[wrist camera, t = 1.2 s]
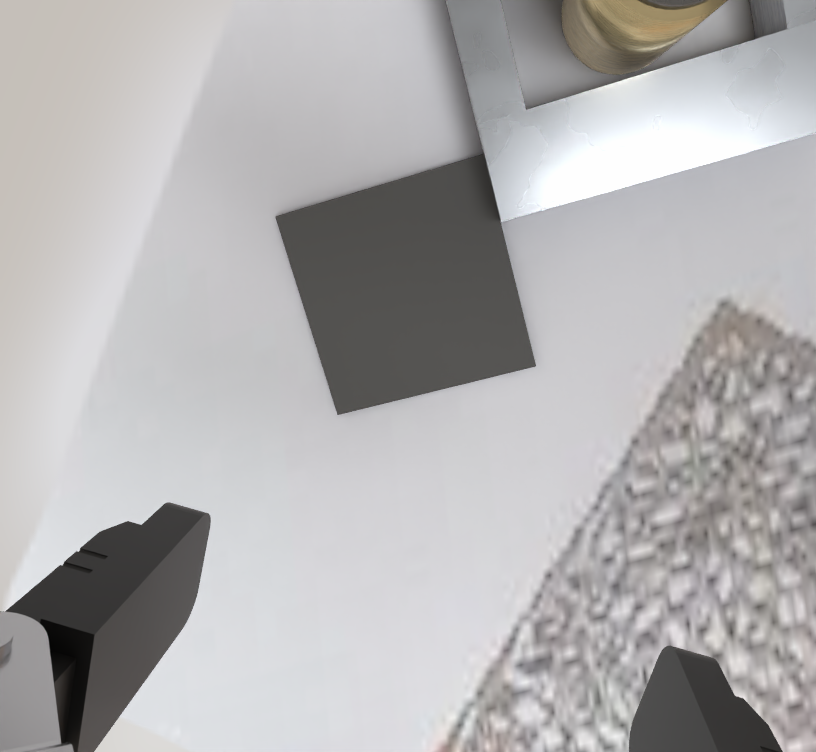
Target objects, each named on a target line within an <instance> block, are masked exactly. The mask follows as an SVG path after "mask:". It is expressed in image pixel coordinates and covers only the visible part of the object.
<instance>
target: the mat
mask: <svg viewBox="0 0 816 752" xmlns="http://www.w3.org/2000/svg"><path fill="white" fill-rule="evenodd" d="M276 220H277V223H278V226H279V229H280V233H281V236H282V239H283V242H284V245H285V249H286V252H287V255H288V258H289V261H290V264H291V268H292V271H293V274H294V277H295V280H296V284H297V287H298V290H299V293H300V296H301V299H302V303H303V306H304V309H305V312H306V315H307V319H308V322H309V325H310V328H311V331H312V334H313V338H314V341H315V344H316V347H317V350H318V354H319V357H320V360H321V363H322V366H323V369H324V373H325V376H326V379H327V382H328V385H329V389H330V392H331V395H332V398H333V401H334V404H335V408H336V411H337V414H338V415H339V414H343V413H348V412H352V411H356V410H360V409H364V408H368V407H372V406H376V405H380V404H384V403H388V402H392V401H396V400H400V399H405V398H409V397H413V396H417V395H421V394H425V393H429V392H433V391H437V390H441V389H445V388H449V387H453V386H457V385H462V384H466V383H470V382H474V381H478V380H482V379H486V378H490V377H494V376H498V375H502V374H506V373H510V372H514V371H519V370H523V369H527V368H531V367H535V366H536V364H535V360H534V356H533V352H532V348H531V344H530V340H529V336H528V332H527V328H526V324H525V320H524V316H523V312H522V308H521V304H520V300H519V296H518V292H517V287H516V283H515V279H514V275H513V271H512V267H511V263H510V259H509V255H508V251H507V247H506V243H505V239H504V235H503V231H502V227H501V223H500V219H499V215H498V211H497V206H496V202H495V198H494V194H493V190H492V186H491V182H490V178H489V174H488V170H487V166H486V162H485V158H484V154H482V155H479V156H476V157H472V158H469V159H466V160H462V161H459V162H456V163H452V164H449V165H446V166H442V167H439V168H436V169H432V170H429V171H426V172H422V173H419V174H416V175H412V176H409V177H406V178H402V179H399V180H396V181H392V182H389V183H386V184H382V185H379V186H376V187H372V188H369V189H366V190H362V191H359V192H356V193H352V194H349V195H346V196H342V197H339V198H336V199H332V200H329V201H326V202H322V203H319V204H316V205H312V206H309V207H306V208H302V209H299V210H296V211H292V212H289V213H286V214H282V215H279V216H276Z"/></svg>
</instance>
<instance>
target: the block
mask: <svg viewBox="0 0 816 752" xmlns="http://www.w3.org/2000/svg"><path fill="white" fill-rule="evenodd" d="M445 1H446V5H447V9H448V13H449V17H450V21H451V25H452V29H453V33H454V37H455V41H456V45H457V49H458V53H459V57H460V61H461V65H462V70H463V74H464V78H465V82H466V86H467V90H468V94H469V98H470V102H471V106H472V110H473V114H474V118H475V122H476V126H477V130H478V134H479V138H480V142H481V146H482V150H483V154H484V158H485V162H486V166H487V170H488V174H489V178H490V182H491V186H492V190H493V194H494V198H495V202H496V206H497V211H498V215H499V219H500V221H501V222H504V221H507V220H511V219H514V218H518V217H521V216H525V215H528V214H532V213H535V212H539V211H542V210H546V209H550V208H553V207H557V206H560V205H564V204H567V203H571V202H574V201H578V200H581V199H585V198H588V197H592V196H596V195H599V194H603V193H606V192H610V191H613V190H617V189H620V188H624V187H627V186H631V185H634V184H638V183H642V182H645V181H649V180H652V179H656V178H659V177H663V176H666V175H670V174H673V173H677V172H680V171H684V170H688V169H691V168H695V167H698V166H702V165H705V164H709V163H712V162H716V161H719V160H723V159H726V158H730V157H733V156H737V155H741V154H744V153H748V152H751V151H755V150H758V149H762V148H765V147H769V146H772V145H776V144H779V143H783V142H787V141H790V140H794V139H797V138H801V137H804V136H808V135H811V134H815V133H816V0H749V1H750V7H751V13H752V19H753V26H754V32H755V38H756V39H754V40H751V41H748V42H744V43H741V44H738V45H735V46H731V47H728V48H725V49H722V50H718V51H715V52H712V53H709V54H705V55H702V56H699V57H696V58H692V59H689V60H686V61H683V62H679V63H676V64H673V65H670V66H666V67H663V68H660V69H657V70H654V71H650V72H647V73H644V74H641V75H637V76H634V77H631V78H628V79H624V80H621V81H618V82H615V83H611V84H608V85H605V86H602V87H598V88H595V89H592V90H589V91H585V92H582V93H579V94H576V95H572V96H569V97H566V98H563V99H559V100H556V101H553V102H550V103H546V104H543V105H540V106H537V107H533V108H530V109H527V110H526V107H525V103H524V98H523V94H522V90H521V85H520V81H519V77H518V73H517V68H516V64H515V60H514V55H513V51H512V47H511V42H510V38H509V34H508V29H507V25H506V21H505V16H504V12H503V8H502V3H501V0H445Z"/></svg>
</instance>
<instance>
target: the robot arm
mask: <svg viewBox="0 0 816 752" xmlns="http://www.w3.org/2000/svg"><path fill="white" fill-rule="evenodd" d="M209 530H210V515H209V514H208V513H205V512H201V511H198V510H194V509H190V508H187V507H183V506H180V505H176V504H173V503H165V504H164V505H163V506H162V507H161V508H160V509H159V510H157V511H156V512H155V513H154V514H153V515H152V516H151V517H150V518H149V519H148V520H147V521H146V522H144V523H143V524H142V525H139V524H136V523H132V522H129V521H127V522H124V523H122V524H119V525H117V526H114V527H111V528H109V529H106V530H103V531H101V532H99V533H98V534H97V535H95V536H94V537H93V538H92V539H91V540H90V541H88V542H87V543H86V544H85V545H84V546H82V547H81V548H80V551H79V552H77V551H76V552H75V553H74V554H73V555H72V556H71V557H69V558H68V559H67V560H66V561H65V562H64V564H63V566H61V565H60V566H59V567H57V568H56V569H55V570H54V571H53V572H52V573H50V574H49V575H48V576H47V577H46V578H44V579H43V580H42V581H41V582H40V583H39V584H37V585H36V586H35V587H34V588H33V589H31V590H30V591H29V592H28V593H27V594H25V595H24V596H23V597H22V598H21V599H20V600H18V601H17V602H16V603H15V604H14V605H12V606H11V607H10V608H9V609H8V610H6V611H5V612H1V611H0V752H94V751H95V750H96V748H97V747H98V745H99V744H100V743H101V741H102V740H103V738H104V737H105V736H106V734H107V733H108V731H109V730H110V729H111V727H112V726H113V725H114V723H115V722H116V720H117V719H118V718H119V716H120V715H121V714H122V712H123V711H124V709H125V708H126V707H127V705H128V704H129V702H130V701H131V700H132V698H133V697H134V695H135V694H136V693H137V691H138V690H139V688H140V687H141V686H142V684H143V683H144V682H145V680H146V679H147V677H148V676H149V675H150V673H151V672H152V670H153V669H154V668H155V666H156V665H157V663H158V662H159V661H160V659H161V658H162V657H163V655H164V654H165V652H166V651H167V650H168V648H169V647H170V645H171V644H172V643H173V641H174V640H175V638H176V637H177V636H178V634H179V633H180V632H181V630H182V629H183V627H184V625H185V624H186V622H187V620H188V618H189V616H190V614H191V611H192V609H193V606H194V603H195V600H196V597H197V593H198V588H199V583H200V577H201V572H202V567H203V561H204V556H205V551H206V545H207V540H208V535H209ZM629 752H783V751H782V750H781V748H780V746H779V744H778V742H777V740H776V739H775V737H774V735H773V733H772V731H771V729H770V727H769V726H768V724H767V723H766V722H765V721H764V720H763V719H762V718H761V717H760V716H759V715H758V714H757V713H756V712H755V711H754V710H753V708H752V707H751V706H750V705H749V704H748V703H747V702H746V701H745V700H744V699H743V698H740V697H736V696H735V695H734V694H733V692H732V690H731V688H730V686H729V684H728V682H727V680H726V678H725V676H724V674H723V672H722V670H721V668H720V666H719V664H718V662H717V661H716V660H715V659H714V658H711V657H708V656H704V655H701V654H697V653H694V652H690V651H687V650H683V649H680V648H676V647H672V646H667V647H665V648H664V649H663V650H662V652H661V653H660V655H659V657H658V659H657V662H656V664H655V667H654V669H653V672H652V674H651V677H650V679H649V682H648V684H647V687H646V689H645V692H644V694H643V697H642V699H641V702H640V704H639V707H638V709H637V712H636V714H635V716H634V719H633V722H632V726H631V731H630V739H629Z"/></svg>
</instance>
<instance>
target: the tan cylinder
mask: <svg viewBox="0 0 816 752" xmlns="http://www.w3.org/2000/svg"><path fill="white" fill-rule="evenodd" d="M726 1H727V0H563V4H562V12H561V19H562V28H563V32H564V36H565V39H566V41H567V44H568V46H569V47H570V49H571V51H572V52H573V53H574V55H575V56H576V57H577V58H578V59H579V60H580V61H581V62H582V63H583V64H585V65H586V66H588V67H589V68H591V69H593V70H595V71H598V72H601V73H606V74H616V75H619V74H627V73H631V72H635V71H637V70H640V69H642V68H644V67H646V66H648V65H650V64H651V63H652V62H654V61H655V60H656V59H658V58H659V57H660V56H661V55H662V54H664V53H665V52H666V51H667V50H668V49H670V48H671V47H672V46H673V45H674V44H676V43H677V42H678V41H679V40H680V39H682V38H683V37H684V36H685V35H686V34H688V33H689V32H690V31H691V30H692V29H694V28H695V27H696V26H697V25H698V24H700V23H701V22H702V21H703V20H704V19H706V18H707V17H708V16H709V15H710V14H712V13H713V12H714V11H715V10H716V9H718V8H719V7H720V6H721V5H723V4H724V3H725V2H726Z"/></svg>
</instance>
